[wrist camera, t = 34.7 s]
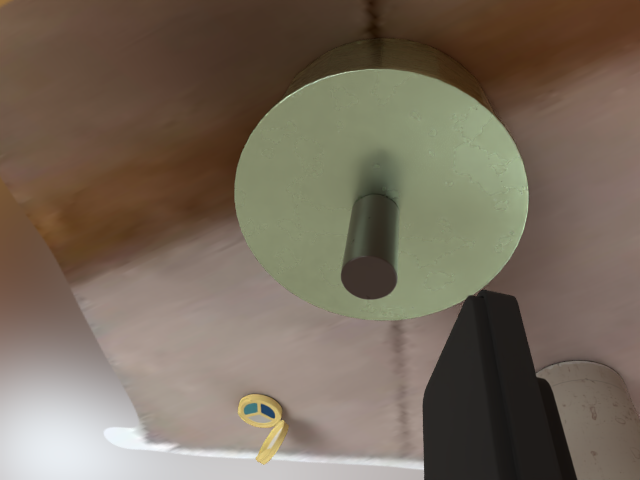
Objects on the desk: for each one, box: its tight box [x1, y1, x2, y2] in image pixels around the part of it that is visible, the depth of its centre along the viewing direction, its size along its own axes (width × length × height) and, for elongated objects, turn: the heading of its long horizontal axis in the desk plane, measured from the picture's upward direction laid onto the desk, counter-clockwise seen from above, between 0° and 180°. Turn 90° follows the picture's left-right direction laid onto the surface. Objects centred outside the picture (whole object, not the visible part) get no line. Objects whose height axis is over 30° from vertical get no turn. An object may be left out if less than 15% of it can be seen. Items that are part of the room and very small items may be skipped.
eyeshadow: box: [238, 394, 289, 465], centre depth 50 cm, size 4×5×5 cm
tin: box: [282, 38, 496, 115], centre depth 31 cm, size 15×15×7 cm
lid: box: [235, 66, 529, 321], centre depth 26 cm, size 16×16×7 cm
